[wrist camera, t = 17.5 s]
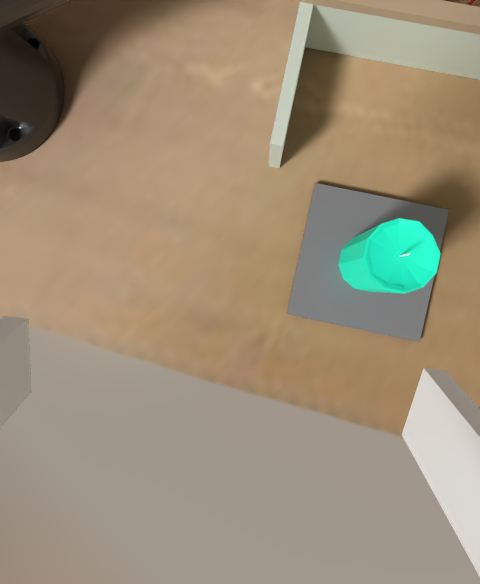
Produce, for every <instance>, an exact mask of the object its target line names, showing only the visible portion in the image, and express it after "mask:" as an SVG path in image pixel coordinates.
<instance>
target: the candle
mask: <svg viewBox="0 0 480 584" xmlns="http://www.w3.org/2000/svg"><path fill="white" fill-rule="evenodd" d="M440 254H441V253H440V251H439V248H438V246H437V244H436V242H435V239H434V237H433V235H432V234H431V233H430V232H429V231H428V230H427V229H426V228H425V227H424V226H423V225H422V223H421V222H419V221H413V220H407V219H401V218H398V219H395V220H391V221H388V222H385V223H382V224H380V225H378V226H376V227H374V228H372V229H370V230H368V231H366V232H364V233H362V234H360V235H358V236H356V237H354V238H352V239H351V240H350V241H349V242H348V243H347V244H346V246H345V247H344V248H343V249H342V250H341V255H340V259H339V264H338V265H339V268H340V271H341V274H342V277H343V279H344V280H345V281H346V282H347V283H348V284H350V285H351V286H352V287H353V288H354V289H359V290H363V291H368V292H385V293H403V294H405V293H408V292H411V291H414V290H417V289H420V288H423V287H424V286H425V285H426V284H427V283H428V282H429V280H430V279H431V278H432V277H433V276H434V275H435V274H436V273H437V269H438V264H439V259H440Z"/></svg>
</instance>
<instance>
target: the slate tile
mask: <svg viewBox="0 0 480 584" xmlns="http://www.w3.org/2000/svg"><path fill="white" fill-rule="evenodd" d="M448 213H449V210H448V209H443V208H438V207H433V206H428V205H423V204H418V203H413V202H408V201H403V200H398V199H393V198H388V197H383V196H378V195H373V194H368V193H363V192H358V191H353V190H348V189H343V188H338V187H333V186H328V185H323V184H318V183H315V185H314V189H313V194H312V198H311V203H310V207H309V212H308V217H307V221H306V226H305V231H304V235H303V240H302V245H301V249H300V254H299V259H298V263H297V268H296V273H295V277H294V282H293V286H292V291H291V296H290V300H289V305H288V310H287V314H290V315H295V316H300V317H304V318H309V319H313V320H318V321H323V322H327V323H332V324H337V325H341V326H346V327H351V328H355V329H360V330H365V331H369V332H374V333H379V334H383V335H388V336H393V337H397V338H402V339H407V340H411V341H416V342H420V338H421V334H422V329H423V325H424V320H425V316H426V311H427V307H428V303H429V298H430V294H431V289H432V285H433V280H434V276H435V275H434V276H433V277H432V278H431V279H430V280H429V282H428V283H427V284H426V285H425V286H424V287H423V288H420V289H417V290H414V291H411V292H408V293H405V294H403V293H385V292H368V291H363V290H359V289H354V288H353V287H352V286H351V285H350V284H348V283H347V282H346V281H345V280H344V279H343V277H342V274H341V271H340V268H339V265H338V264H339V259H340V255H341V250H342V249H343V248H344V247H345V246H346V244H347V243H348V242H349V241H350V240H351V239H352V238H354V237H356V236H358V235H360V234H362V233H364V232H366V231H368V230H370V229H372V228H374V227H376V226H378V225H380V224H382V223H385V222H388V221H391V220H395V219H398V218H401V219H407V220H413V221H419V222H421V223H422V225H423V226H424V227H425V228H426V229H427V230H428V231H429V232H430V233H431V234H432V235H433V237H434V239H435V242H436V244H437V246H438V248H439V251H440V249H441V244H442V240H443V235H444V231H445V226H446V222H447V218H448Z"/></svg>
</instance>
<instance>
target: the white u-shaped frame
mask: <svg viewBox="0 0 480 584" xmlns="http://www.w3.org/2000/svg"><path fill="white" fill-rule="evenodd" d="M305 47H306V48H311V49H317V50H322V51H327V52H333V53H338V54H344V55H349V56H354V57H360V58H365V59H371V60H376V61H381V62H387V63H392V64H397V65H403V66H408V67H414V68H419V69H424V70H430V71H435V72H440V73H446V74H451V75H457V76H462V77H467V78H473V79H478V80H480V7H477V6H472V5H466V4H461V3H455V2H449V1H444V0H300V5H299V10H298V14H297V19H296V24H295V28H294V33H293V38H292V43H291V47H290V52H289V57H288V61H287V66H286V71H285V76H284V80H283V85H282V90H281V95H280V99H279V104H278V109H277V113H276V118H275V123H274V128H273V132H272V137H271V142H270V152H269V165H268V166H271V167H276V168H280V163H281V159H282V154H283V149H284V144H285V140H286V135H287V130H288V126H289V121H290V116H291V112H292V107H293V102H294V97H295V93H296V88H297V83H298V79H299V74H300V69H301V65H302V60H303V55H304V50H305Z"/></svg>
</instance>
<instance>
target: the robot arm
mask: <svg viewBox="0 0 480 584" xmlns="http://www.w3.org/2000/svg"><path fill="white" fill-rule="evenodd" d="M69 1H71V0H0V162H3V161H9V160H13V159H17V158H19V157H22V156H24V155H26V154H28V153H30V152H31V151H33V150H34V149H36V148H37V147H38V146H40V145H41V144H42V143H43V142H44V141H45V140H46V139H47V137H48V136H49V135H50V133H51V132H52V131H53V129H54V127H55V125H56V123H57V121H58V119H59V117H60V114H61V110H62V106H63V100H64V83H63V77H62V73H61V69H60V67H59V64H58V62H57V60H56V58H55V56H54V54H53V53H52V51H51V50H50V49H49V47H48V46H47V45H46V44H45V43H44V42H43V40H42V39H41V38H40V37H39V36H38V35H37V34H36V33H35V32H34V31H33V30H32V29H31V28H30V27H29V26H27V25H26V24H25V23H23V22H24V21H27V20H29V19H31V18H33V17H36V16H38V15H40V14H42V13H44V12H47V11H49V10H51V9H53V8H56V7H58V6H60V5H62V4H64V3H67V2H69ZM30 393H31V371H30V345H29V320H28V319H25V318H17V317H9V316H4V317H2V318H1V319H0V428H1V427H2V426H3V425H4V424H5V422H6V421H7V420H8V419H9V418H10V416H11V415H12V414H13V413H14V412H15V410H16V409H17V408H18V407H19V406H20V405H21V403H22V402H23V401H24V400H25V399H26V397H27V396H28V395H29V394H30ZM402 436H403V438H404V440H405V441H406V443H407V445H408V447H409V449H410V451H411V452H412V454H413V456H414V458H415V460H416V461H417V463H418V465H419V467H420V469H421V471H422V472H423V474H424V476H425V478H426V480H427V482H428V483H429V485H430V487H431V489H432V491H433V492H434V494H435V496H436V498H437V500H438V502H439V503H440V505H441V507H442V508H443V511H444V512H445V514H446V516H447V518H448V520H449V521H450V523H451V525H452V527H453V529H454V531H455V532H456V534H457V536H458V538H459V540H460V542H461V543H462V545H463V547H464V549H465V551H466V552H467V554H468V556H469V558H470V560H471V562H472V563H473V565H474V567H475V569H476V571H477V572H478V574H479V576H480V408H479V407H478V406H477V405H476V404H475V403H474V402H473V401H472V399H471V398H470V397H469V396H468V395H467V394H466V393H465V392H464V390H463V389H462V388H461V387H460V386H459V385H458V384H457V383H456V382H455V380H454V379H453V378H452V377H451V376H450V375H449V374H448V373H447V371H444V370H436V369H428V368H424V369H423V372H422V375H421V378H420V381H419V384H418V387H417V390H416V393H415V396H414V399H413V402H412V405H411V408H410V411H409V414H408V417H407V421H406V424H405V427H404V430H403V433H402Z"/></svg>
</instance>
